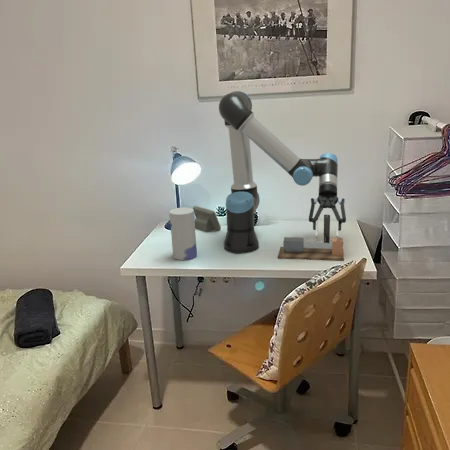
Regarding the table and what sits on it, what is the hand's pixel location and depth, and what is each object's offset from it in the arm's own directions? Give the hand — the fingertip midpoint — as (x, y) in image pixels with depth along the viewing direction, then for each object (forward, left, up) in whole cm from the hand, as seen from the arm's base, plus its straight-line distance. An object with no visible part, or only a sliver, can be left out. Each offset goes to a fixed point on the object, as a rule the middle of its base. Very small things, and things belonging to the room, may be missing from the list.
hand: (326, 237), depth 199 cm
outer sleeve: (-13, +3, -8) cm, 16 cm away
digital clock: (-57, +34, -9) cm, 67 cm away
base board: (-7, +3, -9) cm, 12 cm away
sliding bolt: (-3, +3, -6) cm, 7 cm away
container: (-58, -3, -9) cm, 59 cm away
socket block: (+4, +3, -8) cm, 10 cm away
